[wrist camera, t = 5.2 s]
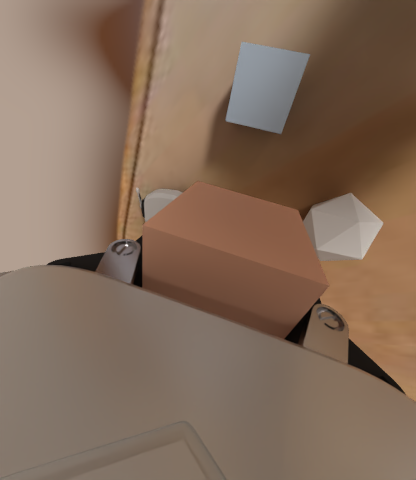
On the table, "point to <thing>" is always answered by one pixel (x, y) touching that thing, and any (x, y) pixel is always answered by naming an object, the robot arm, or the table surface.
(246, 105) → the slate block
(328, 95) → the table surface
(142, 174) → the table surface
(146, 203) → the robot toy
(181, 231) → the terracotta block
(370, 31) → the table surface
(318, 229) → the die
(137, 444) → the robot arm
